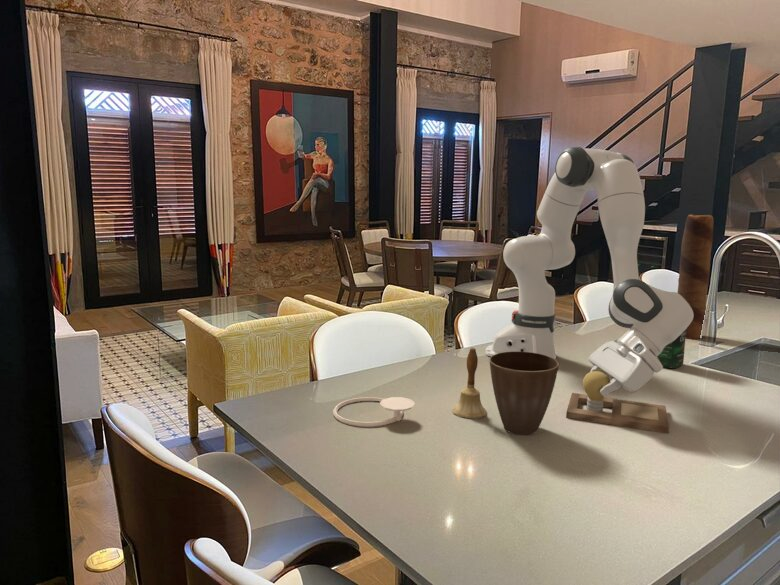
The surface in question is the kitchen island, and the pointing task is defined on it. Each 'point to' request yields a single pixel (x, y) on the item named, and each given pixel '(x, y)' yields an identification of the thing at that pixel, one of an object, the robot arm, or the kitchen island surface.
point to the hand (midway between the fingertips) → (593, 388)
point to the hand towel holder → (389, 404)
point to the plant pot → (522, 388)
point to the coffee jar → (673, 352)
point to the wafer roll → (696, 268)
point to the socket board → (622, 413)
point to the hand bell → (470, 393)
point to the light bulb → (595, 389)
